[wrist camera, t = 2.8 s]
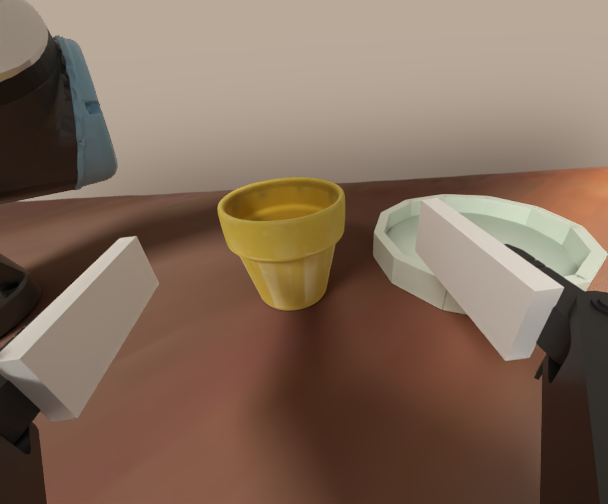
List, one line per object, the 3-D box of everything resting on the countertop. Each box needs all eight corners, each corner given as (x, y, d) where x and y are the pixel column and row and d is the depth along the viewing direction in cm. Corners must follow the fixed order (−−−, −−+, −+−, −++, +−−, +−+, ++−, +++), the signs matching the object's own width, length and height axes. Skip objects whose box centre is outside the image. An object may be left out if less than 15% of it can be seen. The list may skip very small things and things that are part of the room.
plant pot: (312, 249, 34) (304, 168, 28) (368, 295, 26) (372, 195, 21) (229, 280, 30) (203, 193, 25) (266, 346, 22) (239, 239, 17)
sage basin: (359, 295, 26) (360, 269, 24) (387, 211, 40) (388, 191, 39) (635, 344, 19) (661, 312, 17) (548, 222, 34) (558, 199, 32)
